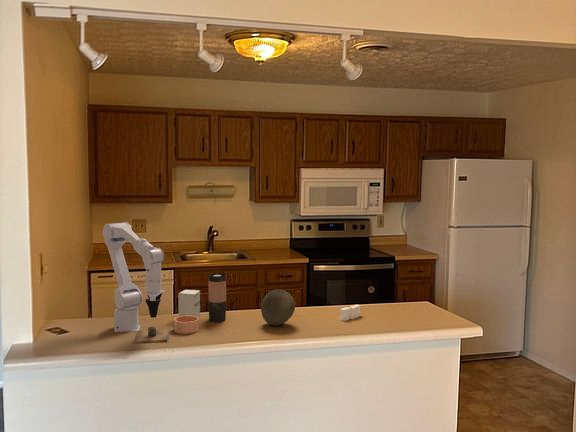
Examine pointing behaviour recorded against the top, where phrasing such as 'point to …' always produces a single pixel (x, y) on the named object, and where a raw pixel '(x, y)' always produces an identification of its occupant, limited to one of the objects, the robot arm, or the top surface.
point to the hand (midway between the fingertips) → (154, 314)
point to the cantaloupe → (277, 307)
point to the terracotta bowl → (186, 324)
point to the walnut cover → (152, 336)
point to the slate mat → (152, 342)
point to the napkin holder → (350, 312)
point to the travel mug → (217, 297)
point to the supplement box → (189, 303)
